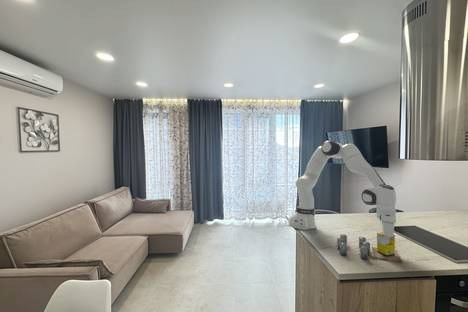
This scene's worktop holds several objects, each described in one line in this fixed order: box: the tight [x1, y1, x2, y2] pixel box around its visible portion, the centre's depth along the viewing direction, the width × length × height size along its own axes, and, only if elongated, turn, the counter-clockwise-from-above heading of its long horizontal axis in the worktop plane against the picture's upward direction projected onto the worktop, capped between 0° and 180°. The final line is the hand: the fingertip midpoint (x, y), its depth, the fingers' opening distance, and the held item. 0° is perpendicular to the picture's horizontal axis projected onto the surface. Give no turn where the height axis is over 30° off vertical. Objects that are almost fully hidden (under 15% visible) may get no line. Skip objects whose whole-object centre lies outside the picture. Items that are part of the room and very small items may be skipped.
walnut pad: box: [371, 246, 403, 264], centre depth 124 cm, size 12×14×1 cm
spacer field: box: [336, 233, 371, 261], centre depth 130 cm, size 17×18×6 cm
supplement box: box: [376, 231, 396, 256], centre depth 125 cm, size 6×6×11 cm
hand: (385, 239), depth 124 cm, fingers open, 8 cm apart
